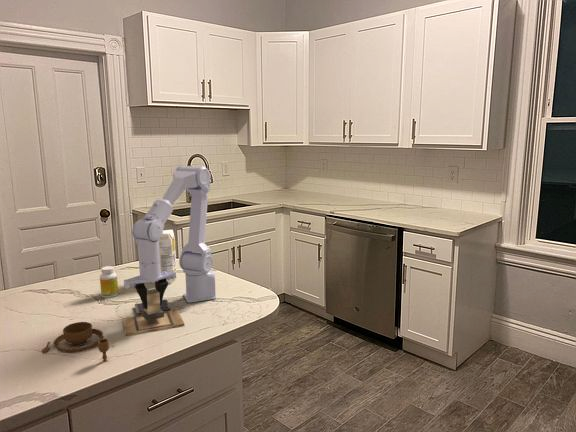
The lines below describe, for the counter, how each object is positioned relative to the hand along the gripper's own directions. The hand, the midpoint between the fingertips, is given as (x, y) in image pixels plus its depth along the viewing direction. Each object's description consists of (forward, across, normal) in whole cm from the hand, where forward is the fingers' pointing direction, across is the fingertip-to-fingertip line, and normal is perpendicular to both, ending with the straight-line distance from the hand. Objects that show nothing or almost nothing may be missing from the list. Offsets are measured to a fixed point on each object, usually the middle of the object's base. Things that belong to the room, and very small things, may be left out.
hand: (152, 306), depth 130 cm
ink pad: (+5, -3, -10) cm, 12 cm away
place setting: (+6, +21, +4) cm, 22 cm away
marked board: (+5, 0, 0) cm, 5 cm away
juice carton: (+5, -15, -33) cm, 37 cm away
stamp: (+3, 0, 0) cm, 3 cm away
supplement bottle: (+5, +5, -30) cm, 31 cm away
